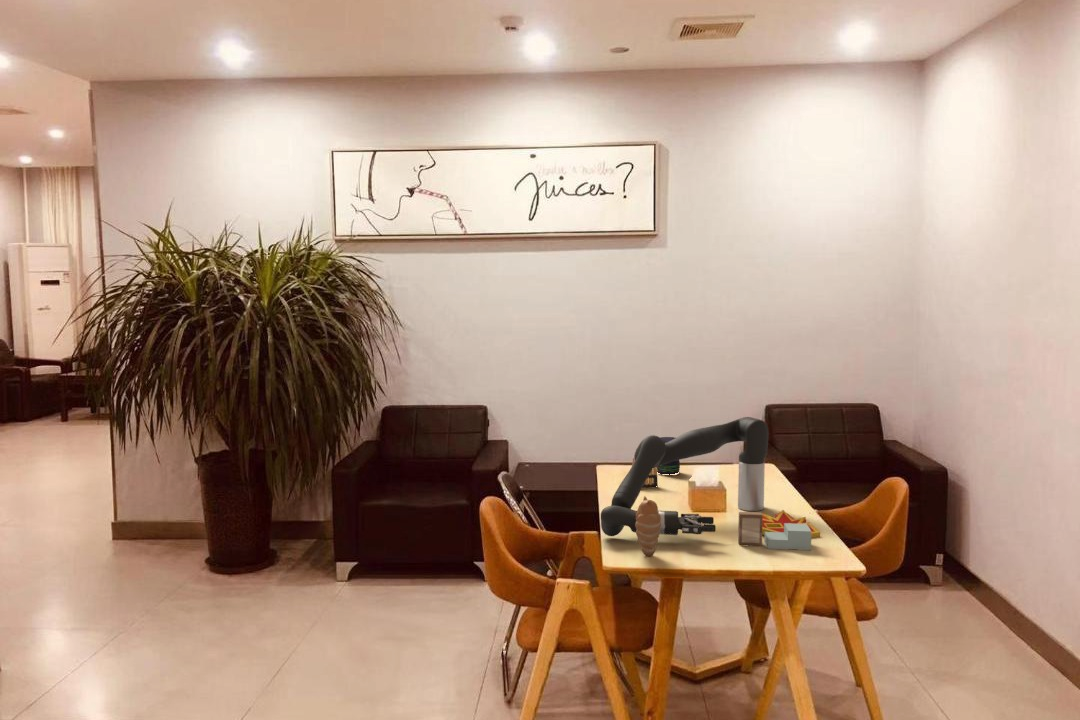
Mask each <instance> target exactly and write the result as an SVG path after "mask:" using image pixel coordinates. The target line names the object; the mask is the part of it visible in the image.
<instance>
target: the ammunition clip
mask: <svg viewBox="0 0 1080 720" xmlns="http://www.w3.org/2000/svg"><path fill="white" fill-rule="evenodd" d="M634 462H635V459H634V458H632V461H631V467H632V466H633V464H634ZM658 485H659V484H658V474H657V467H656V468H653V469H652V470H651V472H650V474H649V475H648V477H647V479H646V481H645V483H644V485H643V487H655V488H658V487H659V486H658ZM656 486H657V487H656Z"/></svg>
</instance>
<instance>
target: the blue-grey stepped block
mask: <svg viewBox="0 0 1080 720" xmlns="http://www.w3.org/2000/svg"><path fill="white" fill-rule="evenodd" d="M764 542H765V545H766V548H767V549H768V550H788V549H798V550H797V551H811V550H812V537H811V530H810V528H809V527H808V525H807V524H792V523H784V532H765V535H764Z"/></svg>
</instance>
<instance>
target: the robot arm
mask: <svg viewBox="0 0 1080 720" xmlns="http://www.w3.org/2000/svg"><path fill="white" fill-rule="evenodd" d="M674 438H675V439H673V440H671V441H669V442H666V443H665V442H664V441H663V440H662V439H661V438H660V436H658V435H655V434H654V435H652V434H651V435H648V436H646V437H644V438H643V439H642V440H641V441H640V442H639V444H638V446H637V447H636V449H635V452H634V455H633V456H634V460H635V462H634V464H633V466H632V465H631V467H630V469H629V470H628V472H627V474H626V475H625V477H624V478H623V480H622V481H621V482H620V484H619V486H618V488H617V489H616V490H615V492H614V494H613V495H612V499H611V504H610V506H605V507H604V508H603V509H602V510H601V512H600V528H601V530H602V533H604V535H605V536H608V537H615V536H617V535H619V534H620V533H621V532H622V531H623V529H624V527H625V526H626V527H628V528H630V531H631V532H632V533H635V534H636V530H637V529H636V527H635V523H636V521H637V520H636V512H637V510H635V509H632V507H633V506H634V504H635V502H636V500H637V499H638V497H639V496H640V493H641V492H642V489H643V488H642V487H643V485H644V483H645V481H646V479H647V477H648V475H649V474H650V472H651V470H652V469H653V468H656V467H658V466H661V465H664V464H666V463H669V462H672V461H676V460H679V461H680V460H683V459H684V460H685V459H688V458H689V459H690V458H693V457H697V456H702V455H707V454H711V453H713V452H715V451H717V450H719V449H720V448H722V447H723V446H725V445H726V444H730V443H736V442H744V443H745V450H744V451H741V452H740V453H739V454H738V482H737V483H738V485H737V486H738V487H737V489H738V490H737V508H738V509H739V510H742V511H746V512H759V511H762V510H764V509H765V475H766V474H765V468H766V467H765V466H766V465H765V464H766V462H765V461H766V457H767V455H768V451H769V450H768V447H769V446H768V445H769V427H768V425H767V423H766V422H765V421H764V420H763V419H760V418H759V419H758V418H755V417H751V416H744V417H740V418H737V419H735V420H731V421H729V422H727V423H726V422H725V423H723V424H717V425H716V424H715V425H710V426H704V427H701V428H696V429H691V430H688V431H687V432H684V433H682V434H681V435H678V436H677V437H674ZM658 513H659V514H660V516H661V521H660V523H661V527H660V530H659V532H660V534H659V535H661V536H662V535H664V536H670V535H671V536H677V535H679V530H681V533H682V534H687V535H690V534H691V535H702V533H704V532H705V533H706V532H707V533H708V532H709V533H716V530H717V528H716V524H714V521H715V520H714V519H715V518H714V516H702V515H700V514H699V513H680V516H679V512H678V511H676V510H658Z"/></svg>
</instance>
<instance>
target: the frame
mask: <svg viewBox="0 0 1080 720" xmlns="http://www.w3.org/2000/svg"><path fill="white" fill-rule="evenodd" d="M762 518H763V513H762V512H759V511H738V527H737V528H738V530H737V531H738V532H737V533H738V534H737V535H738V537H737V539H738V540H737V541H738V542H737V543H738V545H748V547H762V546H763V535H762ZM750 545H752V546H750Z"/></svg>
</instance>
